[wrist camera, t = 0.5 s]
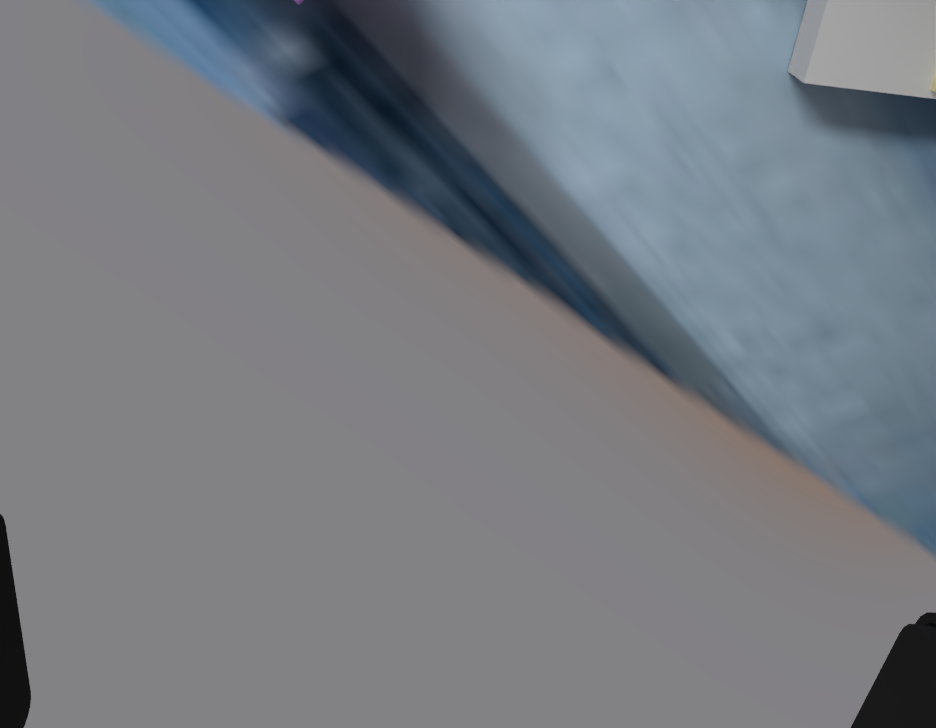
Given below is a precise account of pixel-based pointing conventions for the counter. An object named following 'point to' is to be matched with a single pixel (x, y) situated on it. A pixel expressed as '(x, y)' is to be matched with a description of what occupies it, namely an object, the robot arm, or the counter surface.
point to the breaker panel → (868, 46)
